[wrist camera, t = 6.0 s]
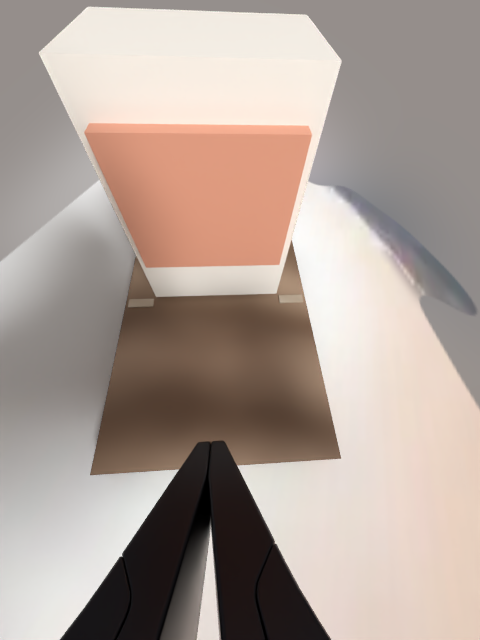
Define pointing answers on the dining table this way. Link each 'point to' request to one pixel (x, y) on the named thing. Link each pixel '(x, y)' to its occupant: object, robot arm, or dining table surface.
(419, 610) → the dining table surface
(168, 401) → the board
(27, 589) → the dining table surface
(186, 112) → the block
